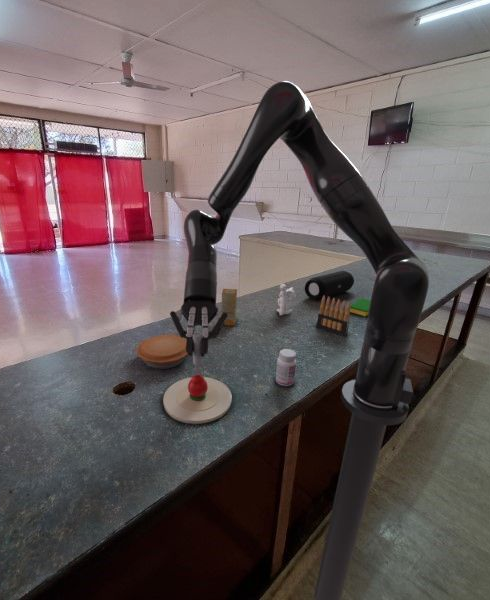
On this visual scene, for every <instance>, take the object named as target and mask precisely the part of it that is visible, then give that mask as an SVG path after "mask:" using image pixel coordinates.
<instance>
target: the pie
mask: <svg viewBox="0 0 490 600" xmlns="http://www.w3.org/2000/svg"><path fill="white" fill-rule="evenodd" d="M186 341H187V339H186V338H182V337H180V335H174V334H159V335H154V336H151V337H149V338H145V339H144V340H143V341H141V342H139V344H138V345H137V347H136V355H137V356H138V358H140V359H141V360H142V361H143V362H144V363H145V365H147V366H148V367H150V368H152V369H156V370H157V369H158V370H166V369H167V370H169V369H173V368H176V367H177V366H180V365H181V364H182V363H184V361H185V359H186V358H187V357H188V356H189V354H187V352H186Z"/></svg>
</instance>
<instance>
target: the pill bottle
mask: <svg viewBox="0 0 490 600" xmlns="http://www.w3.org/2000/svg"><path fill="white" fill-rule="evenodd" d="M296 358H297V353H296V352H295V351H294V350H293V349H289V348H283V349H280V351H279V355H278V358H277V361H276V371H275V372H276V373H275V382H276V383H277V384H278V385H280V386H283V387H289V386H292V385H293V384H294V383H295V377H296V369H297V360H296Z"/></svg>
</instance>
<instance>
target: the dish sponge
mask: <svg viewBox="0 0 490 600" xmlns="http://www.w3.org/2000/svg"><path fill="white" fill-rule="evenodd" d="M370 301H371V299H367V298H362V297H361V298H359V299H358V300H357V301H355V302H354V303H351V304H350V313H352V314H355V315H359V316H362V317H368V312H369V307H370Z"/></svg>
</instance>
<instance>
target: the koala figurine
mask: <svg viewBox="0 0 490 600" xmlns="http://www.w3.org/2000/svg"><path fill="white" fill-rule="evenodd" d="M279 290H280V292H279V294H278V296H279V298H277V305H278V306H279V308H277V309H276V311H277V312H278V314H279V316H283V315H290V313H292V312H293V309H290V307H291V306H292V300H293V299H295V298H296V297H297V295H296V292H295V290H294V287H293V286H291V287H289V288H287V284H284V283H281V284H280V286H279Z"/></svg>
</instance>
